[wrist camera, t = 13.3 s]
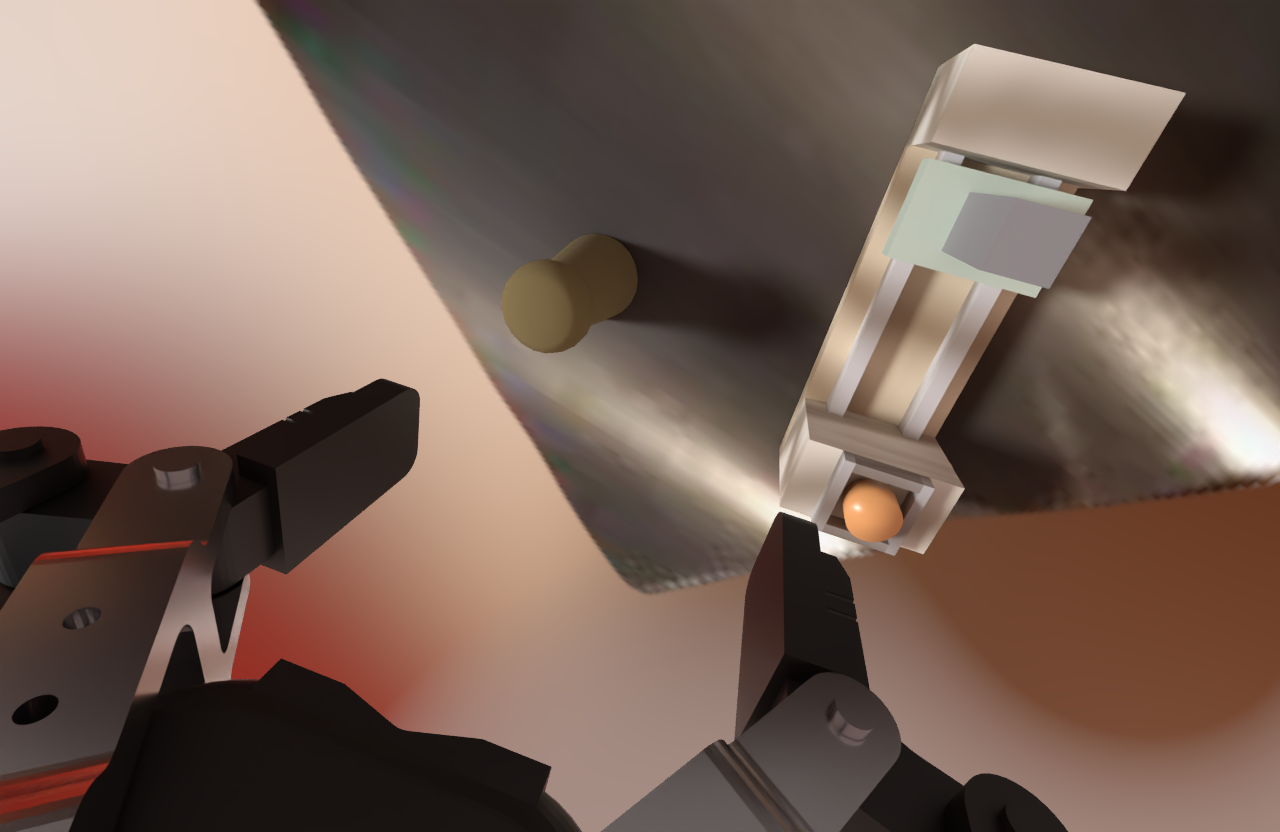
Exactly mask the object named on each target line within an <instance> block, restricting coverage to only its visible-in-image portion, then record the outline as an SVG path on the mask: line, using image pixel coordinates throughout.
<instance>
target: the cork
mask: <svg viewBox="0 0 1280 832" xmlns="http://www.w3.org/2000/svg"><path fill="white" fill-rule="evenodd" d="M637 283H638V275H637V269H636V264H635V262H634V260H633V258H632V256H631V254H630V252H629V251H628V250H627V249H626V248H625V247H624V246H623V245H622V244H621V243H620V242H619V241H617V240H615V239H613V238H612V237H610V236H607V235H602V234H597V233H594V234H588V235H582V236H581V237H579V238H577V239H575V240H573V241H572V242H570V243H569V244H568V245H567V246H566V247H565V248H564V249H563V250H561V251H560V252H559V253H558V254H557V255H556V256H555V257H554V258H552V259H551V260H549V259H544V260H537V261H532V262H529V263H527V264H525V265H524V266H522V267H520V268H518V269H517V270H516V271H515V273H514V274H513V275H512V276H511V277H510V279H509V280H508V281H507V283H506V285H505V288H504V291H503V294H502V311H503V315H504V319H505V322H506V324H507V326H508V328H509V329H510V331H511V333H512V334H513V335H514V336H515V337H516V338H517V339H518V340H519V341H520V342H521V343H522V344H523V345H525V346H527V347H529V348H530V349H532V350H534V351H539V352H543V353H554V352H562V351H565V350H567V349H569V348H571V347H573V346H575V345H576V344H577V343H578V342H579V341H580V340H581V339H582V338H583V337H584V336H585V335H586V334H587V332H588V330H589V328H590V326H591V325H593V324H596V323H598V322H601V321H603V320H606V319H608V318H611V317H613V316H615V315H617V314H619V313H621V312H623V311H624V310H625V309H626V308H627V307H628V306H629V305H630V304H631V302H632V300H633V298H634V296H635V294H636V290H637Z"/></svg>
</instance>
